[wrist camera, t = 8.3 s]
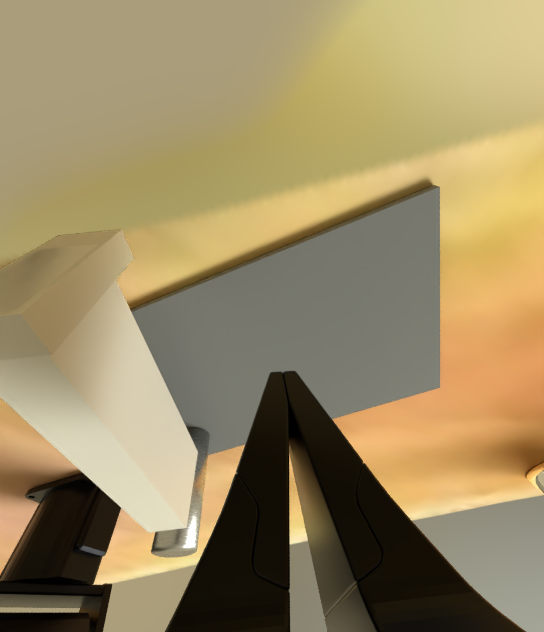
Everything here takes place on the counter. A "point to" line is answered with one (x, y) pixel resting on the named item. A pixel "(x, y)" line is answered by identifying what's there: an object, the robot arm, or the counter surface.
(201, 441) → the gate post
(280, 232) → the counter surface
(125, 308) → the cream long block
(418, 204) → the mat
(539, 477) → the beer glass
